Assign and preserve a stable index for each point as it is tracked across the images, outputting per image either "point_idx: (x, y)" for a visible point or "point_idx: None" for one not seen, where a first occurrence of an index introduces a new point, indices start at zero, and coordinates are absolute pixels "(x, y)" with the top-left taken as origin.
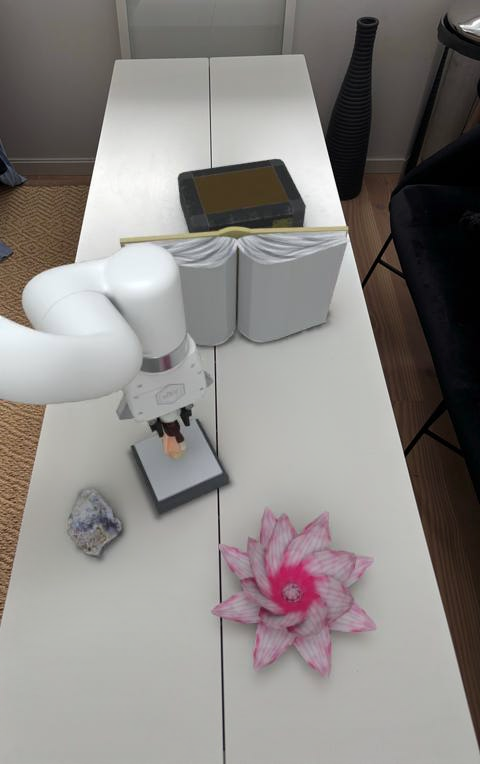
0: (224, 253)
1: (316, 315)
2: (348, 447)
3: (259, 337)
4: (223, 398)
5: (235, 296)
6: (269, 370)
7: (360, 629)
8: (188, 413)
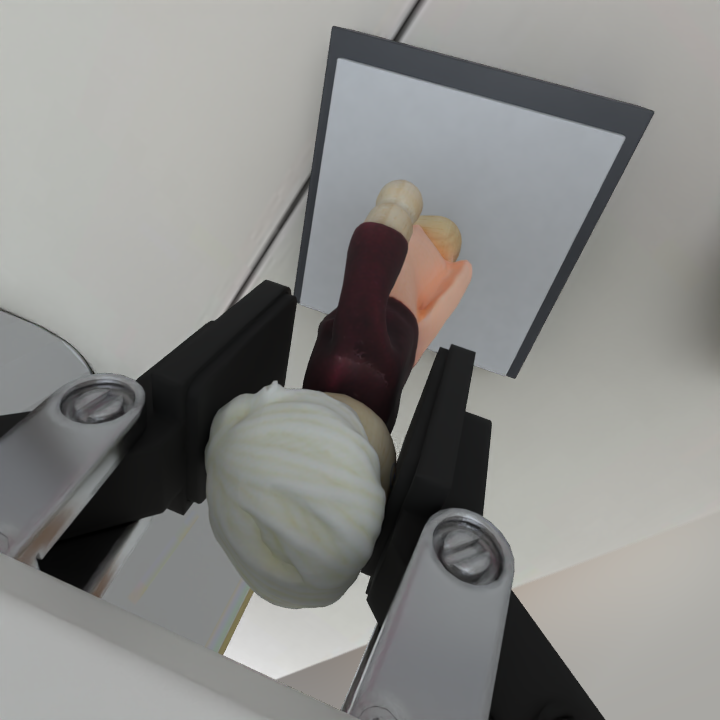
0: None
1: None
2: None
3: (56, 356)
4: (211, 297)
5: None
6: (75, 272)
7: None
8: (173, 356)
